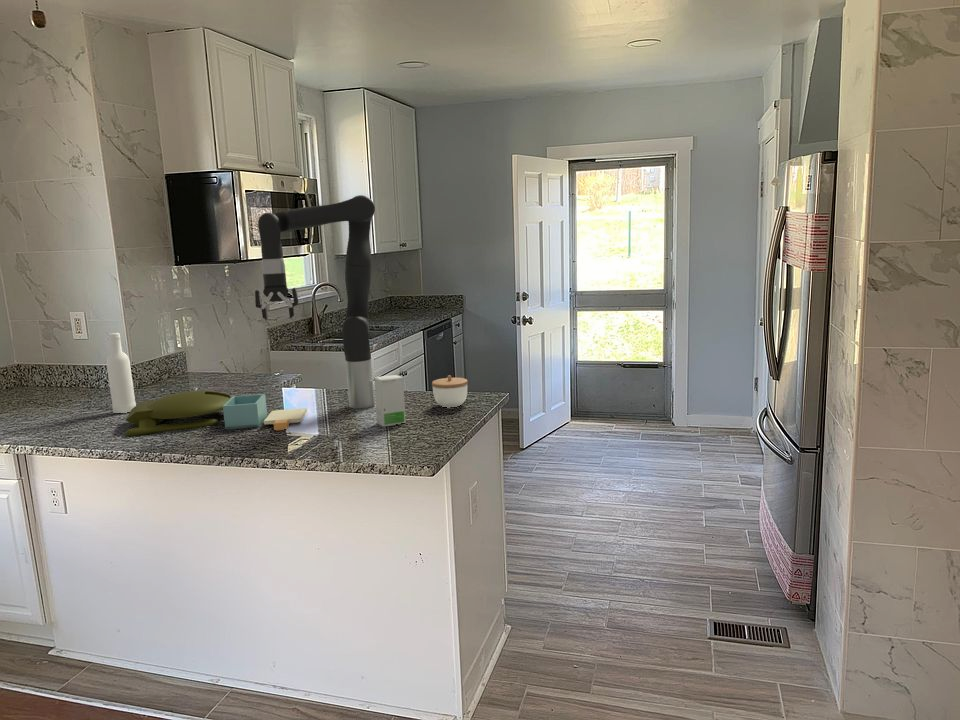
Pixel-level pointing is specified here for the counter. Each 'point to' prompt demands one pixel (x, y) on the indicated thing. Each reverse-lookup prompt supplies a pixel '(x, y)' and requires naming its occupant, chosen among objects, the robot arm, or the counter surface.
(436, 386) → the lidded bowl
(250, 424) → the tub
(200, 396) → the spaceship
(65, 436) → the counter surface
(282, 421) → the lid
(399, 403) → the skincare box
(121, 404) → the bottle
